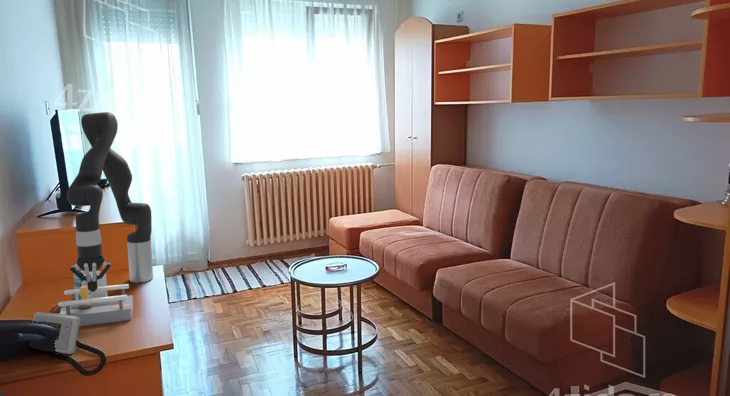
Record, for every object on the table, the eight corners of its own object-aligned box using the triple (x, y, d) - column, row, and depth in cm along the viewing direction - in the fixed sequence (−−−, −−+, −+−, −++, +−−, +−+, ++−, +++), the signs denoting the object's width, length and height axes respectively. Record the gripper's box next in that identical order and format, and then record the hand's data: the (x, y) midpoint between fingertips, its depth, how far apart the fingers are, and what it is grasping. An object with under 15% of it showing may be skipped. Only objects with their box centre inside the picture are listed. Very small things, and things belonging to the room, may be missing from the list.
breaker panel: (65, 313, 184) (63, 289, 183) (133, 305, 192) (131, 282, 191) (58, 328, 172) (56, 303, 170) (131, 319, 180) (129, 295, 178)
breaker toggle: (79, 304, 181) (78, 285, 180) (92, 303, 183) (91, 284, 181) (78, 309, 177) (76, 289, 176) (91, 307, 179) (89, 288, 178)
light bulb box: (74, 300, 198) (72, 272, 196) (91, 294, 203) (88, 268, 202) (92, 305, 193) (90, 277, 191) (108, 299, 199) (106, 272, 197)
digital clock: (25, 349, 157) (21, 316, 155) (53, 337, 165) (50, 306, 163) (60, 360, 150) (57, 326, 149) (88, 348, 158) (85, 315, 157)
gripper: (111, 238, 183) (114, 285, 186) (68, 241, 178) (73, 289, 181) (109, 243, 176) (113, 292, 179) (65, 247, 171) (69, 296, 174)
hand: (93, 291), depth 180 cm, fingers closed
